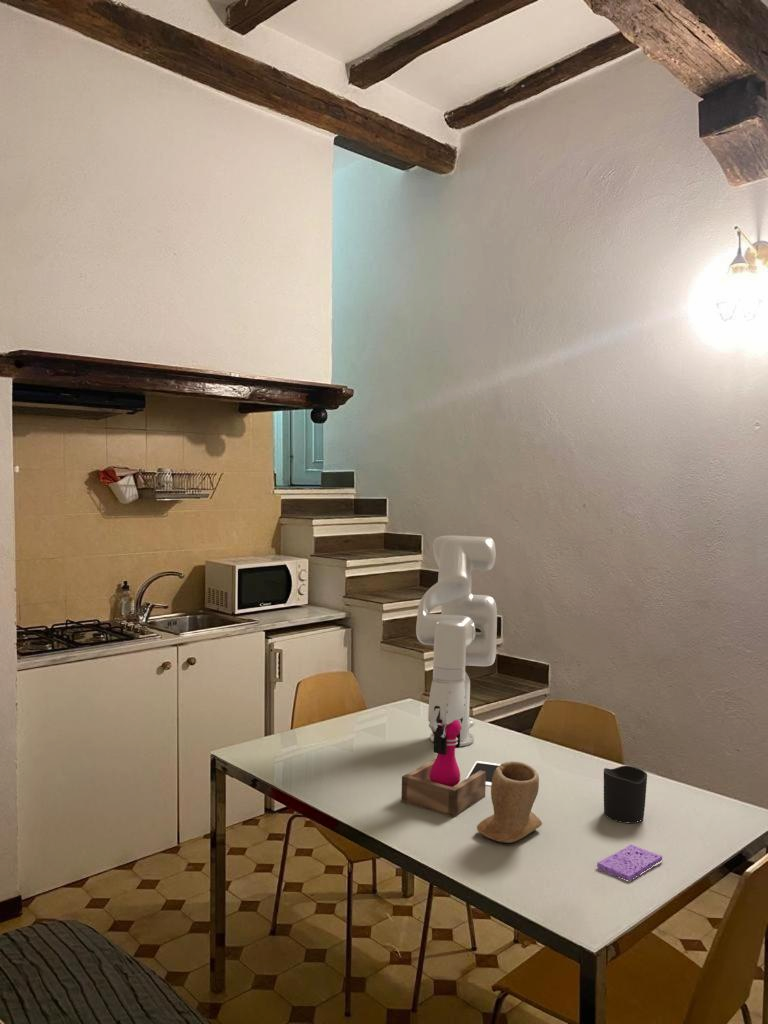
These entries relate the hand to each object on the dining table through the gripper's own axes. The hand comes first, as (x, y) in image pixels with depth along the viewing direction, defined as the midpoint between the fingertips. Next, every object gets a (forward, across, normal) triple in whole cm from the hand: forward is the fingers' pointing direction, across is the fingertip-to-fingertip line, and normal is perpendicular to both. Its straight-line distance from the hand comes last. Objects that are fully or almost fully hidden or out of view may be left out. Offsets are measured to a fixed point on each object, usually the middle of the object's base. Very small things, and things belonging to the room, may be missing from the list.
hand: (446, 749), depth 186 cm
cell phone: (+12, -21, 0) cm, 24 cm away
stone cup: (+12, +7, +21) cm, 25 cm away
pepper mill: (+11, +1, 0) cm, 11 cm away
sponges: (+13, +6, +45) cm, 48 cm away
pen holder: (+12, -17, +37) cm, 42 cm away
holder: (+12, 0, 0) cm, 12 cm away
